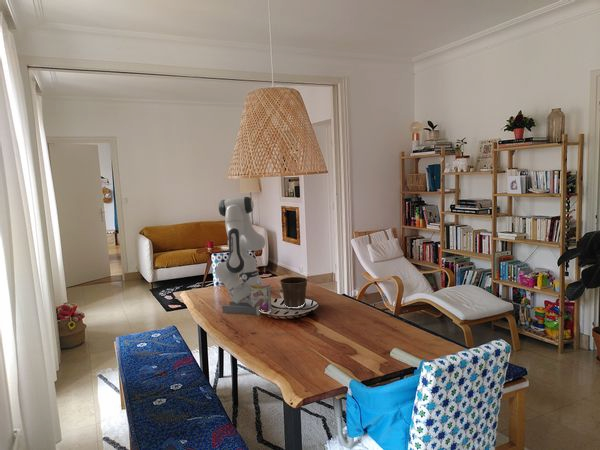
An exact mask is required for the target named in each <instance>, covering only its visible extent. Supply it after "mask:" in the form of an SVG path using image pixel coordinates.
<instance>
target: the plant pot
mask: <svg viewBox="0 0 600 450" xmlns="http://www.w3.org/2000/svg"><path fill="white" fill-rule="evenodd" d="M308 281H309V280H308V278H306V277H301V276H290V277H285V278H284V277H283V278H281V279H280V280H279V282H280V285H281V289H282V296H283V302H284V303H283V304H285V305H286V306H288V307H298V306H301V305H303V304H304V303H305V304H306V297H307V296H306V295H307V293H306V292H307V286H308V283H307V282H308ZM285 305H284V306H285Z"/></svg>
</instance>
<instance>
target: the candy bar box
mask: <svg viewBox="0 0 600 450" xmlns="http://www.w3.org/2000/svg"><path fill="white" fill-rule="evenodd" d="M271 288H272V287H271V284H267V283H266V284H265V283H263V284H252V285H250V302H251V307H257V306H261V309H262V310H267V311H269V310H270V309H273V308H272V291H271ZM261 315H263V314H262V313H261Z"/></svg>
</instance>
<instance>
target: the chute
mask: <svg viewBox="0 0 600 450" xmlns="http://www.w3.org/2000/svg"><path fill="white" fill-rule="evenodd" d="M221 308H222V313H226V314H227V313H228V314H240V315H254V316H255V315H256V316H261V315H262V314H261V312H260V311H259V310H261V306H257V307H251V305H249V304H248V303H247V302H245V301H241V302H240V303H238V304H237V303H235V302H234V301H233V300H232V301H231V300H230V301H229V305H225V304H222V305H221Z"/></svg>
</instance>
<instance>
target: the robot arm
mask: <svg viewBox="0 0 600 450" xmlns="http://www.w3.org/2000/svg"><path fill="white" fill-rule="evenodd" d="M254 206H255V205H254V201H253V199H252V197H250V196H240V197H239V196H237V197H233V198H231V197H230V198H228V199H227V198H226V199H222V200H220V201H219V203H218V205H217V210H218V212H219V214H220V215H221V216H222V217H224V219H225V220H224V223H225V230H226V235H227V246H228V256H227V259H226V261H221V262H220V263H218V264H217V266H216V267H215V269H214V274H215V276H216V277H217V279H218V280H219V281H220V282H221V283H222V284H224V286H225V287H226V289H228V290H227V291H228V294H229V296H230V299H232V301H234V302H235V303H237V304H238V303H240V302H247V303H248V304H249V305H251V302H250V285H252V284H264V281H263V278H262V277H260V276H259V273H260V270H259V269H257V261H256V258H255V257H254V256H252V255H250V254H249V253H248V251H249V252H250V251H251V252H252V251H254V252H255V251H260V250H263V248H264V247H265V245H266V239H265V237H264V236H263V235H262V234H260V233H258V232H257V231H256V230H255V229H254V226H253V225H252V222H251V218H250V214H251V213H252V212H253V210H254ZM238 276H239V277H238Z"/></svg>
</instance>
